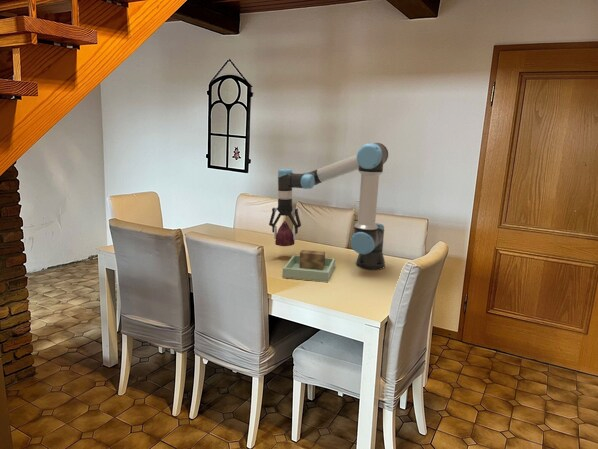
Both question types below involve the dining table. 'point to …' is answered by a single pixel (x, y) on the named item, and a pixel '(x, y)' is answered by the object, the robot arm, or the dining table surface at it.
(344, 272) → the dining table surface
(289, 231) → the vegetable
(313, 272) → the tray
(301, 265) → the walnut block
